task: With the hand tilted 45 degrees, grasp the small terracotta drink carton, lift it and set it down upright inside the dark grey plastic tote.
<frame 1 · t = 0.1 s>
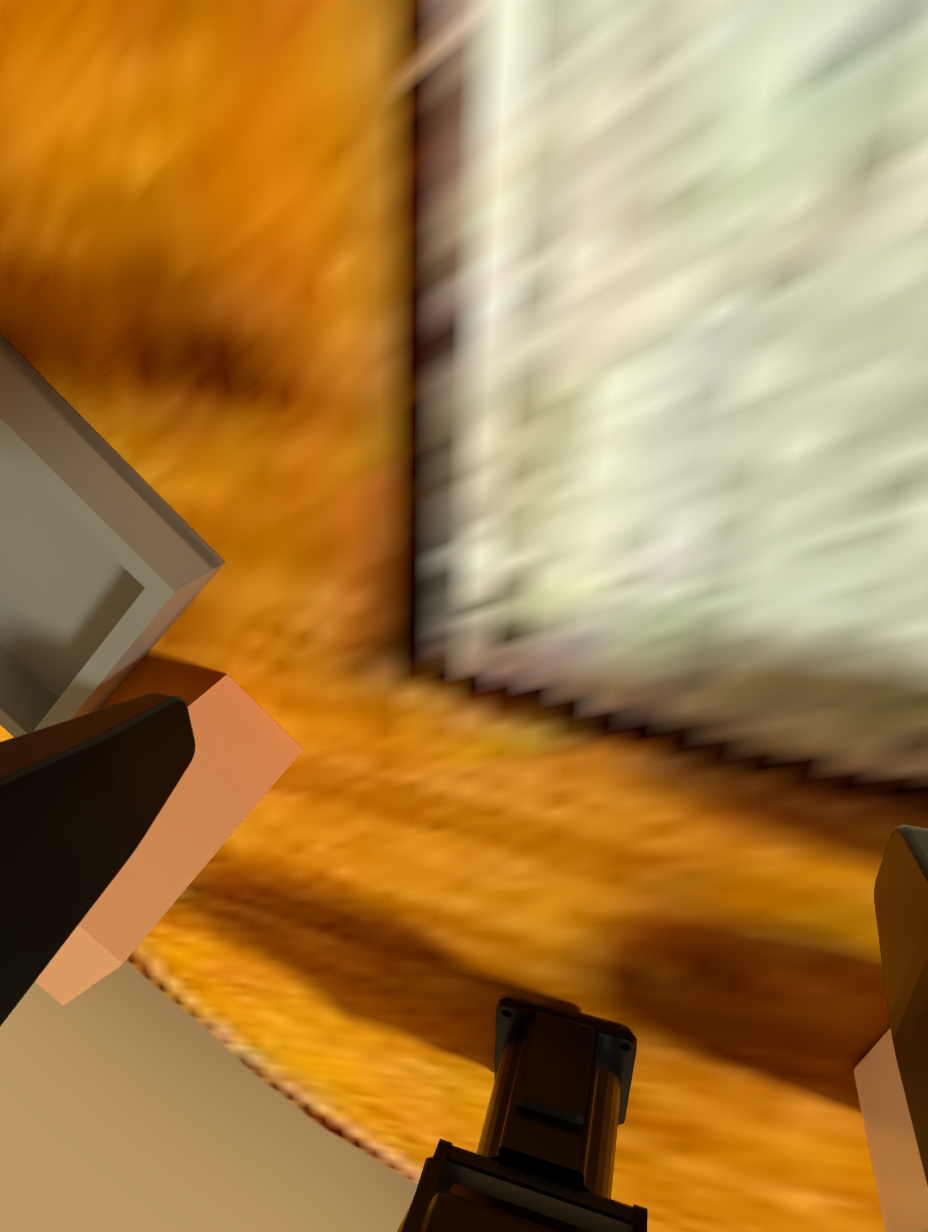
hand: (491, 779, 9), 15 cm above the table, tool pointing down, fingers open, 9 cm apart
carton: (238, 736, 31), on the table
tote: (35, 540, 29), on the table
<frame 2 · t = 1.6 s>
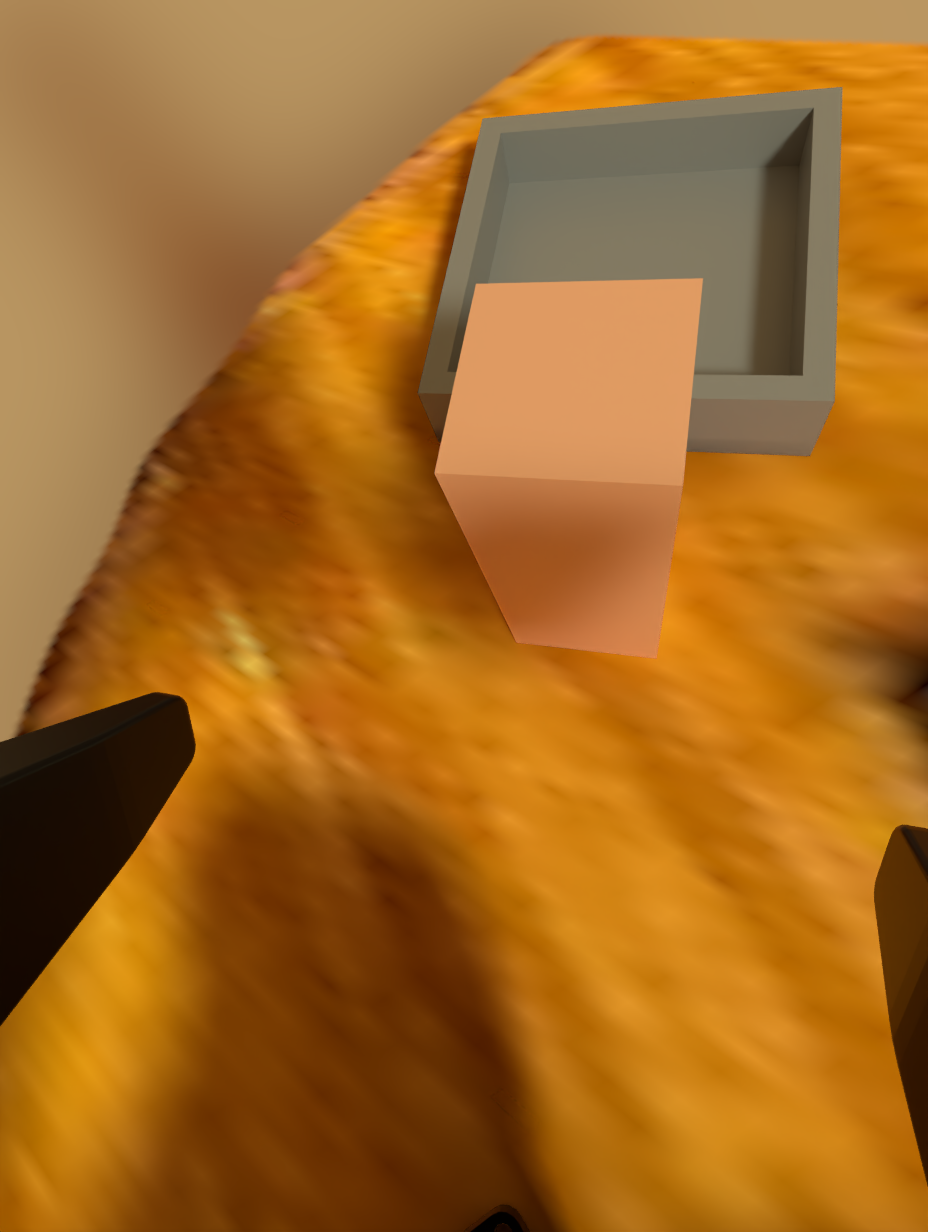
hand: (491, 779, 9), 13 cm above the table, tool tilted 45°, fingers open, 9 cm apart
carton: (593, 586, 24), on the table
tote: (631, 302, 27), on the table
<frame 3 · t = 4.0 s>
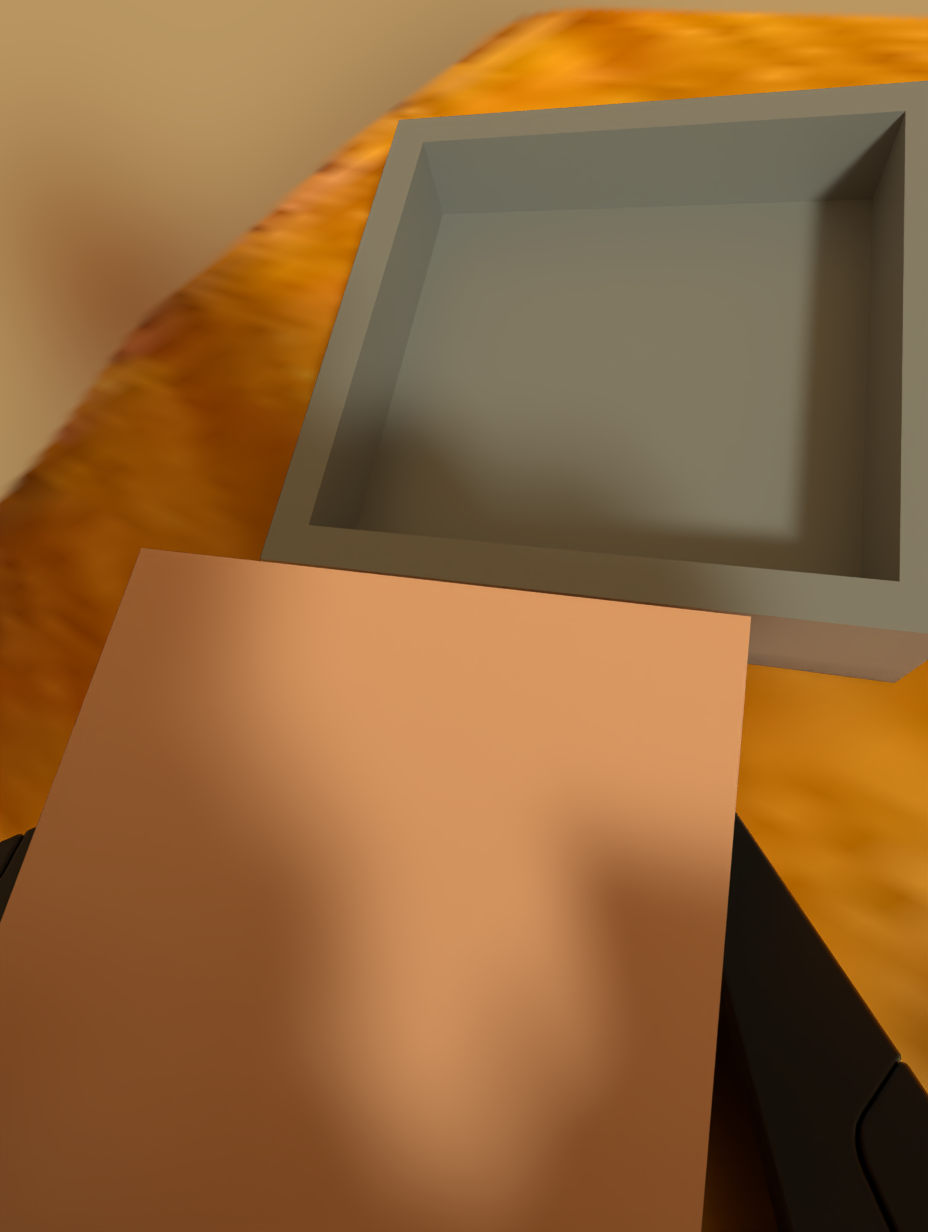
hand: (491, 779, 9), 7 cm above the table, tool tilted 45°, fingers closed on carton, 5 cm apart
carton: (534, 885, 14), on the table, touching gripper
tote: (612, 400, 18), on the table
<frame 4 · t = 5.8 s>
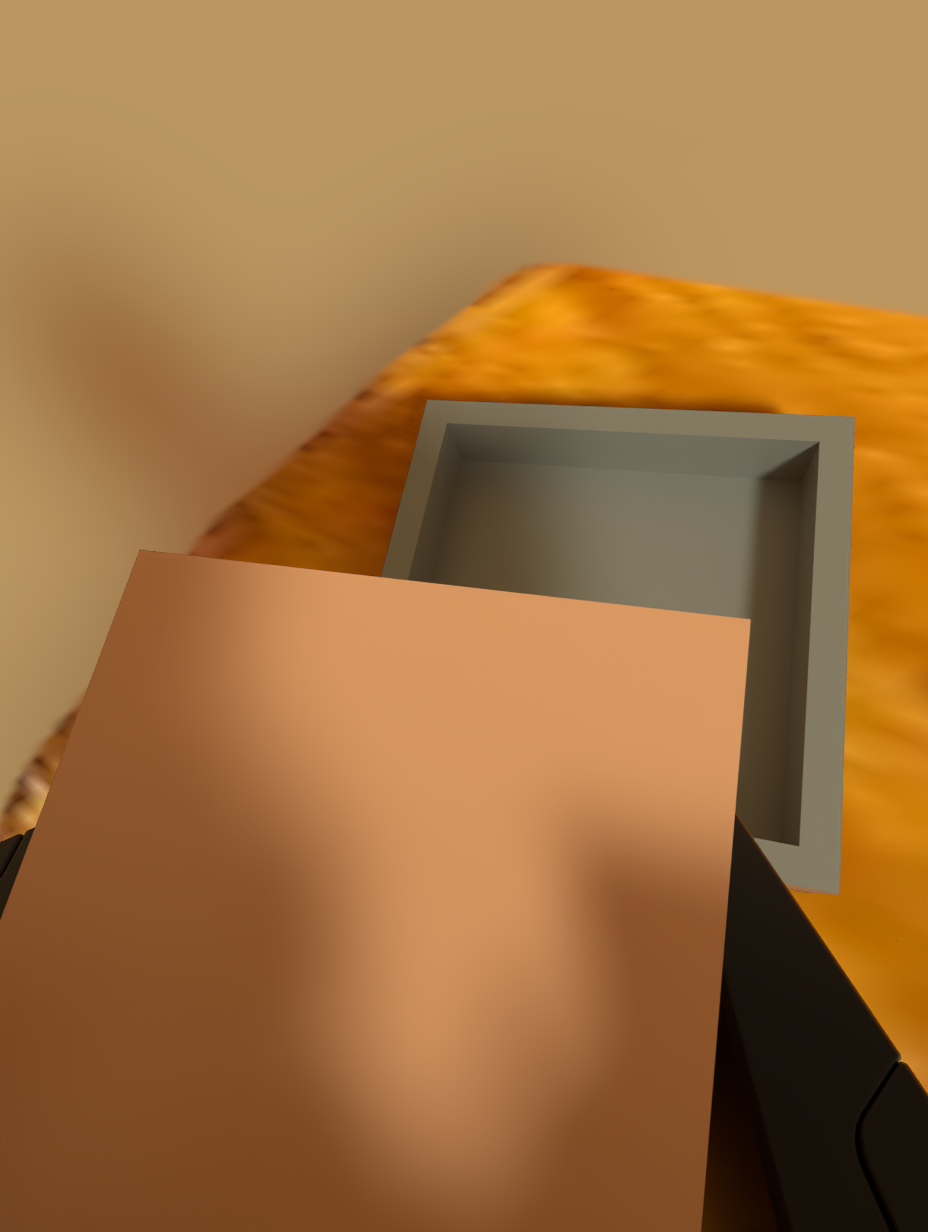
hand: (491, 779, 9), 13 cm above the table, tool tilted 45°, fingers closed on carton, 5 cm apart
carton: (534, 886, 14), point 6 cm above the table, touching gripper
tote: (597, 634, 23), on the table
when the fingers open (9 cm above the table, at t = 7.7 s): carton drops 1 cm, resting on tote.
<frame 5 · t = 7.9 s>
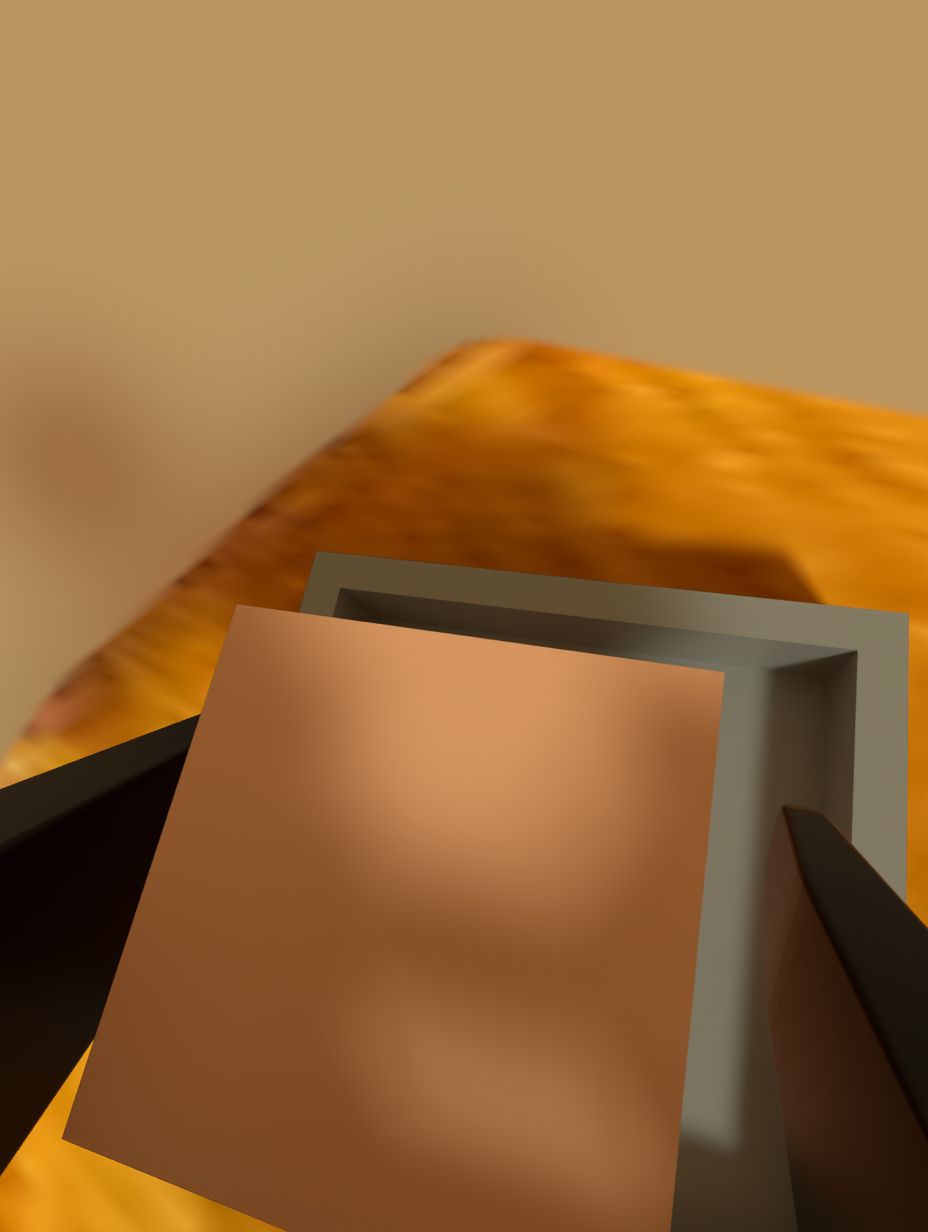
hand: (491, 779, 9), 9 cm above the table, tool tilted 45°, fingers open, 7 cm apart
carton: (542, 882, 16), point 1 cm above the table, touching tote
tote: (545, 882, 16), on the table
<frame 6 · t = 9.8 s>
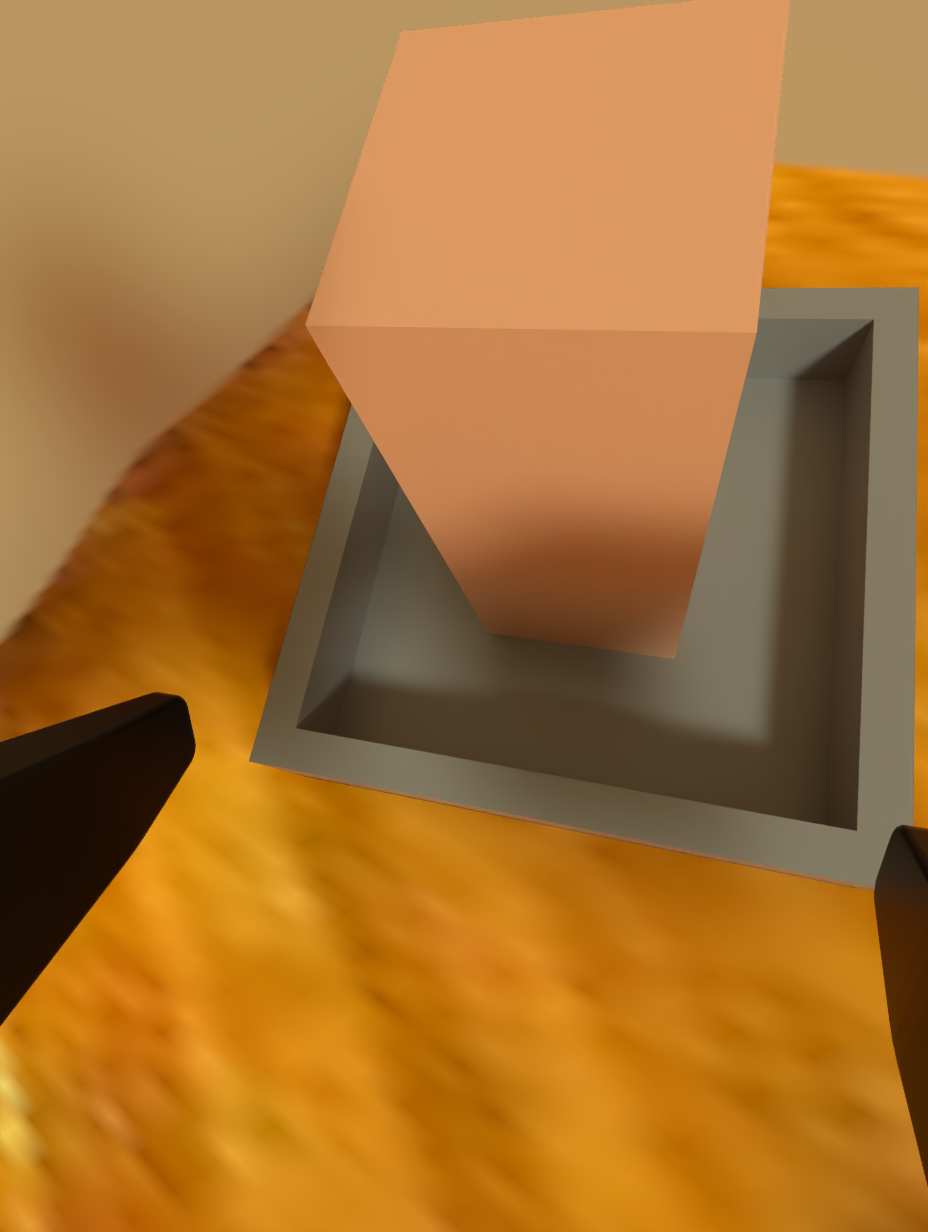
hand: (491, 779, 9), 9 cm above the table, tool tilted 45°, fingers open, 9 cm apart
carton: (591, 560, 18), point 1 cm above the table, touching tote
tote: (592, 572, 18), on the table
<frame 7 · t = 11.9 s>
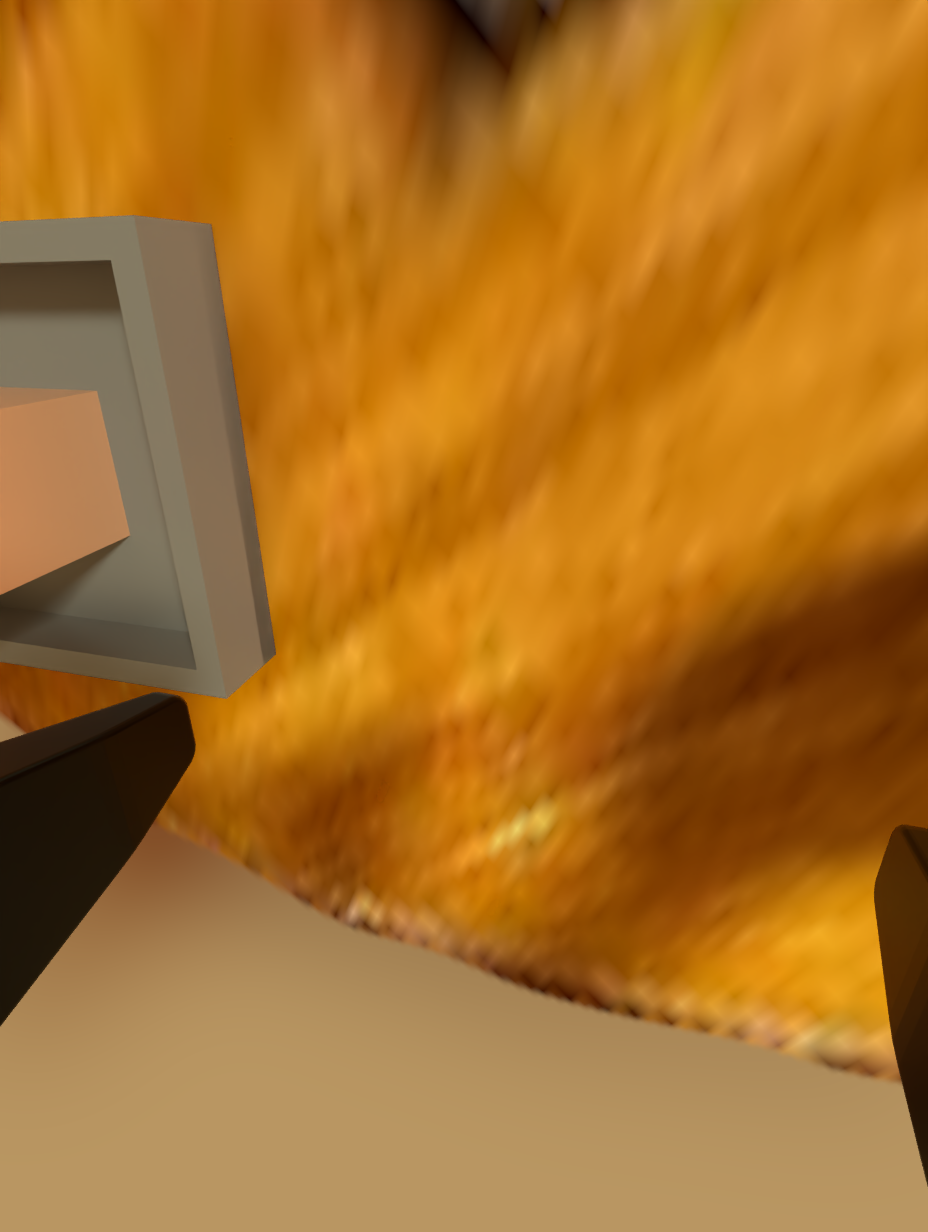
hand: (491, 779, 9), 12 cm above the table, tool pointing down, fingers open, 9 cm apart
carton: (55, 462, 22), point 1 cm above the table, touching tote
tote: (75, 457, 23), on the table
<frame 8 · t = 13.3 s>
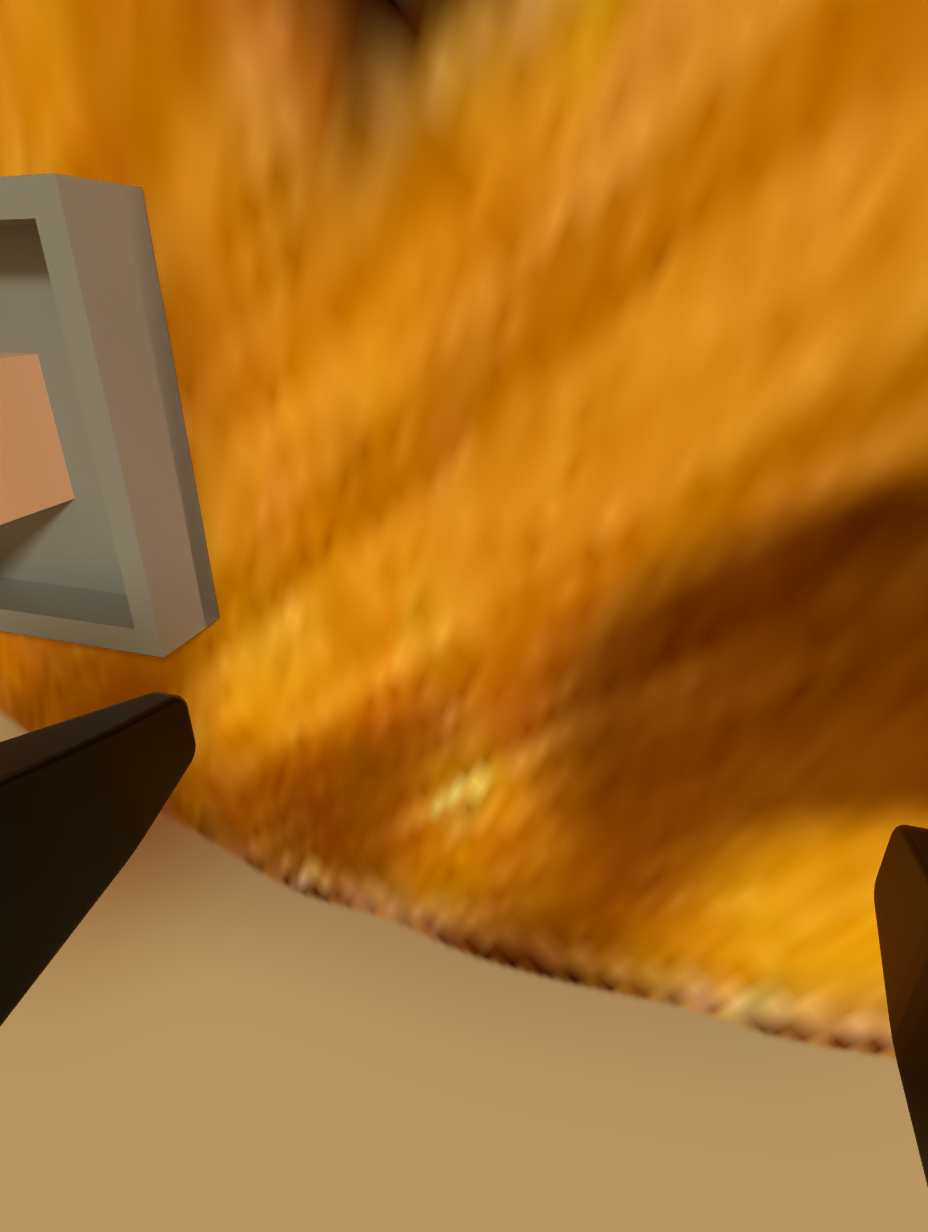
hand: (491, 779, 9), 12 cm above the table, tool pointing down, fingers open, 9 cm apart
carton: (1, 425, 23), point 1 cm above the table, touching tote
tote: (22, 421, 24), on the table
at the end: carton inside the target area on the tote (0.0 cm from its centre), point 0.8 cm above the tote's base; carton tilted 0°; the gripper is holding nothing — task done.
